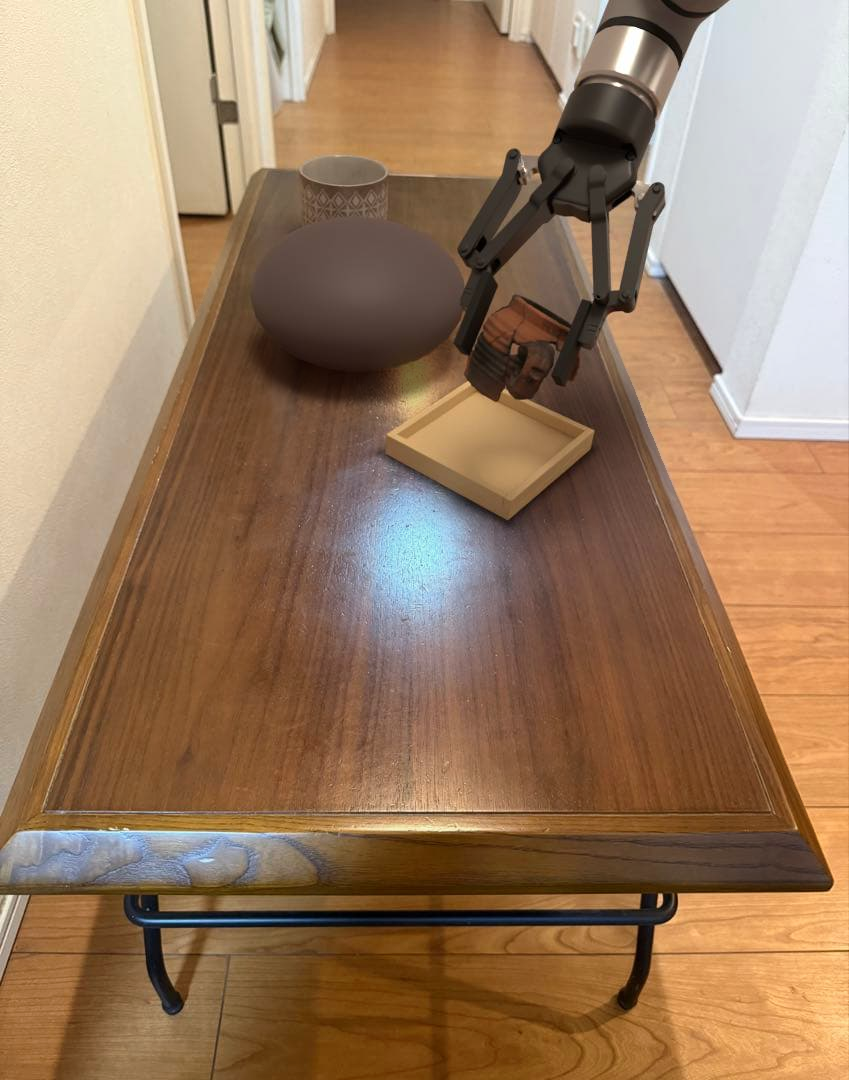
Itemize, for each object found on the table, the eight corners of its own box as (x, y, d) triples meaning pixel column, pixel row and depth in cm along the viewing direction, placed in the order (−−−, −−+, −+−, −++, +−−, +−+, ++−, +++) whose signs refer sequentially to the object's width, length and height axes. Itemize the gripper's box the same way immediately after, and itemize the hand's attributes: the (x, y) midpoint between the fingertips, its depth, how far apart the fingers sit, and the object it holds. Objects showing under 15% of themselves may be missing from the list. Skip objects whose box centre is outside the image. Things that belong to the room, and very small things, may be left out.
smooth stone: (236, 316, 107) (223, 198, 97) (419, 292, 114) (424, 180, 104) (284, 422, 90) (274, 293, 80) (493, 386, 97) (508, 264, 87)
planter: (285, 235, 125) (281, 164, 118) (353, 217, 132) (353, 148, 125) (335, 266, 118) (333, 192, 111) (404, 245, 125) (406, 174, 118)
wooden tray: (590, 449, 89) (594, 430, 88) (507, 520, 80) (510, 500, 78) (474, 394, 96) (476, 375, 94) (385, 453, 87) (385, 434, 85)
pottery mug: (449, 359, 77) (494, 277, 74) (534, 403, 80) (582, 326, 76) (469, 402, 66) (523, 309, 63) (567, 451, 69) (623, 364, 66)
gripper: (738, 159, 68) (632, 416, 69) (508, 109, 75) (412, 344, 75) (744, 104, 61) (625, 391, 62) (488, 55, 68) (383, 313, 68)
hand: (508, 365), depth 69 cm, fingers closed on pottery mug, 8 cm apart
